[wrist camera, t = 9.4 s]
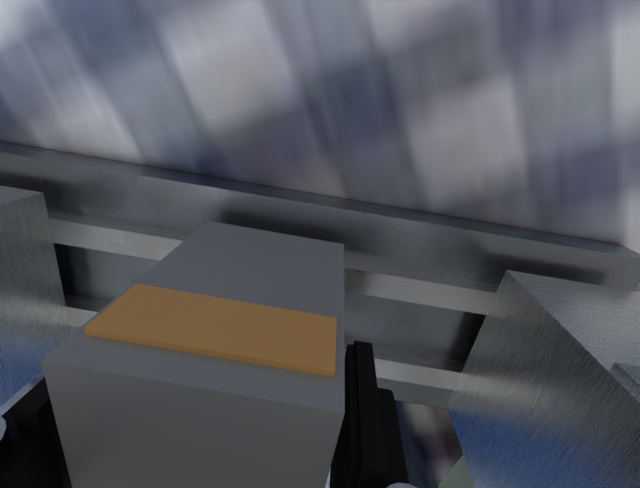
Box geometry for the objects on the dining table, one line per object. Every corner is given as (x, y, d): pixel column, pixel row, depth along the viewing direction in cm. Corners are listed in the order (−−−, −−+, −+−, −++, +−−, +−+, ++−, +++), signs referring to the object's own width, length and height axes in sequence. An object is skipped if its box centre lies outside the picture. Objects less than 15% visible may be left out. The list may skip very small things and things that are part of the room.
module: (344, 240, 12) (346, 406, 5) (315, 385, 14) (292, 608, 8) (208, 216, 12) (39, 353, 5) (205, 366, 14) (94, 575, 8)
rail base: (620, 244, 13) (1119, 491, 5) (531, 399, 17) (724, 699, 8) (-44, 134, 13) (-732, 181, 5) (7, 311, 17) (-336, 519, 8)
